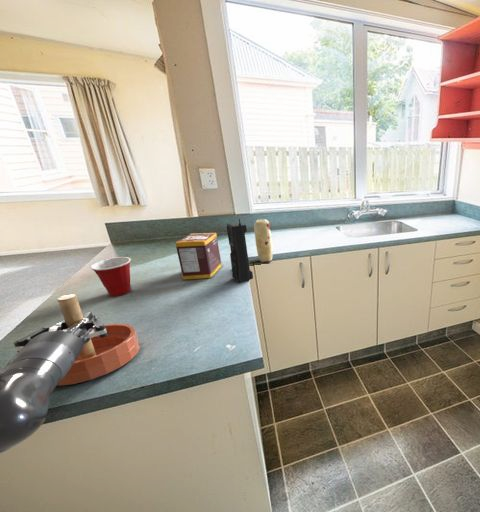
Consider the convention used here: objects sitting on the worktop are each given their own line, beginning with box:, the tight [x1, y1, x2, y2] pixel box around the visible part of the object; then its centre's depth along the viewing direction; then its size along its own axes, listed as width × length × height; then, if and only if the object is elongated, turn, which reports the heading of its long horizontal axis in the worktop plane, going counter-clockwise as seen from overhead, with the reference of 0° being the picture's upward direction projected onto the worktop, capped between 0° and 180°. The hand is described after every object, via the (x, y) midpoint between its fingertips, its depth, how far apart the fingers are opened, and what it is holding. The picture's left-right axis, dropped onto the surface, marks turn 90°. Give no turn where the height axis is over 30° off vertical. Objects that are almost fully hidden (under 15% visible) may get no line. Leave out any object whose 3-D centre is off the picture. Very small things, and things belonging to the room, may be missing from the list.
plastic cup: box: [89, 256, 132, 297], centre depth 105 cm, size 11×11×12 cm
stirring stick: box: [56, 293, 96, 360], centre depth 65 cm, size 3×3×16 cm
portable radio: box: [226, 218, 254, 283], centre depth 117 cm, size 8×6×25 cm
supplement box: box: [174, 232, 223, 281], centre depth 124 cm, size 10×15×16 cm
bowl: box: [56, 323, 141, 386], centre depth 70 cm, size 17×17×6 cm
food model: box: [253, 218, 273, 263], centre depth 140 cm, size 10×7×20 cm
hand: (80, 318), depth 67 cm, fingers closed on stirring stick, 3 cm apart
